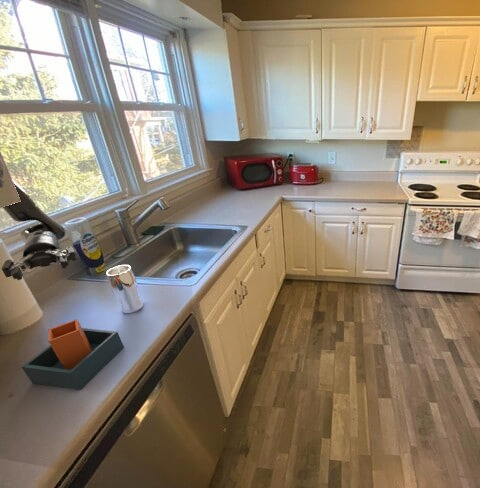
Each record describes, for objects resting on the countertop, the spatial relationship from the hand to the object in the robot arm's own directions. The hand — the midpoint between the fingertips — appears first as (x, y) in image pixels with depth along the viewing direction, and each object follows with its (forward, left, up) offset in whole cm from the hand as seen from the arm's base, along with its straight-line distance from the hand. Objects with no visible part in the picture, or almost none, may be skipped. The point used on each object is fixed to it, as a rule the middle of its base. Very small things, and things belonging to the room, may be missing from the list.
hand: (41, 270), depth 71 cm
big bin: (+9, -7, -24) cm, 26 cm away
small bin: (+9, -7, -23) cm, 26 cm away
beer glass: (+5, +16, -24) cm, 29 cm away
